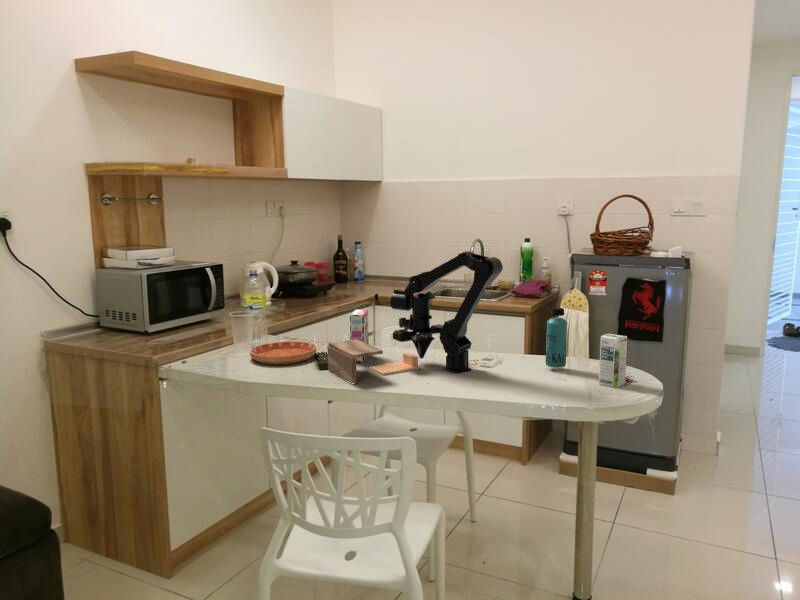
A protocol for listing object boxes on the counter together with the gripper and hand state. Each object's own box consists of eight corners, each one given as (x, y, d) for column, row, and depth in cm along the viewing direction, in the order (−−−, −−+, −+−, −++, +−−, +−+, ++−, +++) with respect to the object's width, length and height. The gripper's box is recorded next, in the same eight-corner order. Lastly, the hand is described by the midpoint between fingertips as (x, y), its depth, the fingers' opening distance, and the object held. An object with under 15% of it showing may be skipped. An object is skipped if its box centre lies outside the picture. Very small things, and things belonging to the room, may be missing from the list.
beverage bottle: (548, 365, 203) (550, 305, 200) (569, 368, 200) (570, 307, 197) (542, 370, 198) (543, 308, 195) (563, 373, 195) (564, 310, 191)
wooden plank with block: (406, 364, 210) (406, 351, 210) (420, 370, 203) (420, 357, 202) (369, 370, 204) (368, 357, 203) (382, 377, 196) (381, 364, 195)
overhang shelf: (357, 365, 207) (356, 339, 206) (383, 378, 192) (382, 350, 191) (328, 370, 202) (327, 343, 201) (352, 384, 187) (351, 355, 185)
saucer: (237, 359, 219) (236, 349, 218) (289, 347, 236) (289, 337, 235) (277, 371, 204) (276, 360, 203) (330, 356, 220) (329, 346, 220)
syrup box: (597, 384, 183) (599, 335, 181) (607, 379, 187) (609, 332, 185) (616, 388, 179) (618, 338, 177) (625, 383, 183) (628, 335, 181)
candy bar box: (365, 362, 211) (363, 315, 208) (350, 362, 212) (348, 315, 209) (369, 354, 222) (368, 308, 219) (355, 354, 222) (354, 308, 220)
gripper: (431, 305, 217) (432, 349, 219) (384, 311, 208) (385, 356, 210) (449, 310, 207) (449, 356, 210) (400, 316, 198) (401, 364, 201)
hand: (421, 358), depth 208 cm, fingers closed
